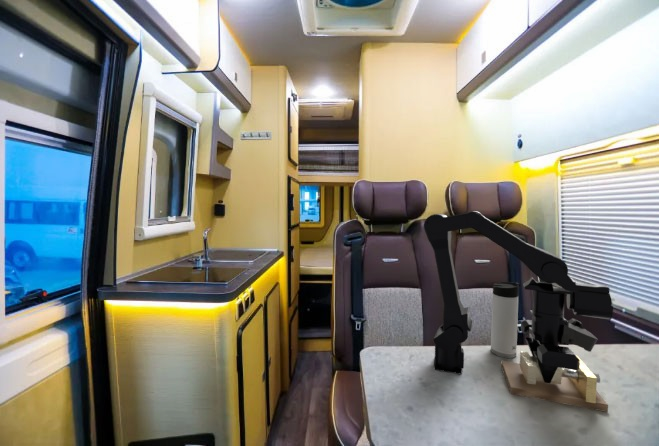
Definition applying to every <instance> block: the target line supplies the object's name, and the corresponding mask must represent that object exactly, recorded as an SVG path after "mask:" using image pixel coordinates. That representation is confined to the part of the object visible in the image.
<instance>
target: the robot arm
mask: <svg viewBox="0 0 659 446" xmlns="http://www.w3.org/2000/svg"><path fill="white" fill-rule="evenodd" d="M423 229H424V233H425V235H426V237H427V241H428V242H429V243H430V246H431V248H432V250H433V253H434V258H435V264H436V268H437V274H438V280H439V286H440V290H441V296H442V303H443V311H442V312H443V313H442V324H441V325H440V326H439V327H438V329H437V331H436V333H435V336H434V337H433V342H434V359H433V361H434V363H433V369H434V370H436V371H442V372H446V373H452V374H459V375H462V374H463V373H462V372H463V369H464V367H465V366H464V364H465V363H464V361H465V352H464V351H465V350H464V348H462V343H465V341H466V340H467V339H468V338H469V334H470V332H472V327H473V320H472V319H471V315H470V309H471V308H470V306H467V307H465V306H464V305H463V304H462V301H461V297H460V292H459V287H458V282H457V276H456V270H455V266H454V259H453V253H452V247H451V246H452V245H451V243H452V231H453V232H455V231H460V230H466V229H473V230H475V231H476V232H478V233H479V234H481V235H482V236H484V237H485V238H487V239H489V240H490V241H492V242H493V243H495V244H497V245H498V246H499V247H501V248H502V249H504V250H505V251H507V252H509V253H510V254H512V256H514V257H516V258H517V259H518V260H520V262H522V263H523V265H525V266H526V268H528V269H529V271H531V272H532V273H533V274H534V275H536V276H537V278H539V279H540V280H541V281H536V279H534V277H530V278H529V279H528V280H527V281H525V282H523V283H522V284H523V287H524V290H526V291H528V290H529V291H532V308H531V309H532V310H531V309H530V310H529V316H530V317H531V319H524V320H523V321H521V323H520V330H521V332H522V334H523V335H525V334H527V333H528V334H529V337H525V338H524V339H525V340H526V344H527V346H528V348H529V351H530V353H531V356H533V357H535V358H536V361H537V363H538V366H539V369H540V372H541V374H542V377H543V380H544V382H545V383H551V381H552V378H553V376H554V374H555V372H556V370H557V368H558V367H560V368H564V369H573V370H579V366H580V360H581V359H580V360H579V359H578V357H579V356H578V355H577V354H575V353H574V352H573V351H572V349H570V347H568V346H569V345H570V344H573V345H575V346H577V347H580V348H582V349H584V351H586V352H589V353H591V352H592V350H593V348H594V347H595V345H596V343H597V341H598V340H599V339H598V338H597V337H596V335H594V334H593V333H591V332H590V331H589V330H588V329H586V328H584V327H583V323H582V322H581V321H579V320H577V319H576V318H571V319H569V320H567V319H566V318H565V298H566V307H567V309H568V310H572V312H573V314H574V316H583V317H590V318H595V319H598V318H599V319H602V320H603V319H604V320H611V319H612V317H613V315H614V314H613V313H614V305H613V304H612V303H613V302H612V297H611V293H610V290H611V289H610V287H609V286H608V285H606V284H590V283H589V284H587V283H579V282H577V283H576V281H575V280H574V278H572V276H571V277H570V275H568V273H569V268H568V264H566V262H565V261H564V260H563V259H562V258H560V257H559V256H558V255H556V254H554V253H552V252H550V251H547V250H545V249H542V248H540V247H537V246H535V245H533V244H531V243H527V242H526V241H524V240H523V239H521V238H519V237H518V236H516V235H514V234H513V233H511V232H510V231H508V230H507V229H505V228H503V227H502V226H500V225H498V224H497V223H495V222H494V221H492V220H490V219H489V218H487V217H485V216H484V214H482V213H481V212H479V211H478V210H477V211H476V210H472V211H469V212H466V213H459V214H454V215H448V216H447V215H446V214H443V213H435V214H431V215H429V216H428V217H427V218H426V219H425V220H424V222H423ZM553 284H556V285H558V286H559V287H558V286H553ZM565 296H566V297H565ZM559 344H561V345H563V346H561V345H559ZM564 345H565V346H564ZM576 355H577V356H578V357H577V356H576Z"/></svg>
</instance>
